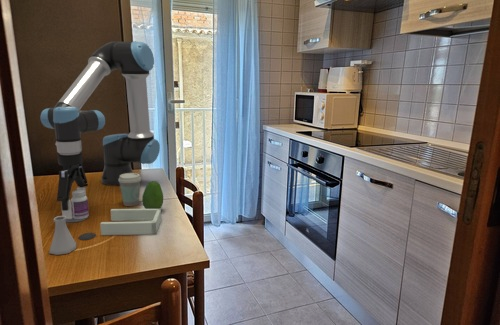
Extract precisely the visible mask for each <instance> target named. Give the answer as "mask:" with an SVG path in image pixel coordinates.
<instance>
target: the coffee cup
mask: <svg viewBox="0 0 500 325" xmlns="http://www.w3.org/2000/svg"><path fill="white" fill-rule="evenodd" d="M140 175H141V174H139V173H137V172H133V173H125V174H121V175H120V177H119V180H118V181H119V183H120V185H119V188H120V191H121V192H120V194H121V198H122V202H123V203H122V204H123V206H125V207H133V206H134V207H135V206H137V205H139V202H140V192H141V191H140V188H141V180H142V177H141V176H140Z"/></svg>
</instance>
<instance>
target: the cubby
mask: <svg viewBox="0 0 500 325" xmlns="http://www.w3.org/2000/svg"><path fill="white" fill-rule="evenodd" d="M110 220H111V221H101V222H100V234H101V235H100V236H124V235H125V236H128V235H139V236H140V235H157V232H158V229H159V228H160V227H159V226H160V224H161V221H162V208H160V209H145V208H111V209H110Z"/></svg>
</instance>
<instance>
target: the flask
mask: <svg viewBox="0 0 500 325" xmlns="http://www.w3.org/2000/svg"><path fill="white" fill-rule="evenodd" d="M65 220H66V216H62V215H58V216H56V217H55V216H54V217H53V222H54V225H55V227H54V233H53V237H52V242H51V244H50V248H49V251H48V254H50V255H56V256H58V255H65V254H70V253H72V252H73V251H75V250H76V249H77V244H78V243H77V242H76V240H75V239H74V238H73V235H72V234H71V232H70V230H69V228H68V226H67V222H66V221H65Z"/></svg>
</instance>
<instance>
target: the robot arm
mask: <svg viewBox="0 0 500 325" xmlns="http://www.w3.org/2000/svg"><path fill="white" fill-rule="evenodd" d="M154 65H155V58H154V54H153V52H152V49H151V48H150V46H149V45H148V44H147V43H145V42H143V41H115V40H114V41H110V42H107V43H105V44H104V45H102V46H100V47H99V48H97V49H96V51H94V52H93V53H92V55H90V57H89V58H88V59H87V65H86V66H85V67H84V68H83V70H82V71H81V72H80V74H79V75H78V76H77V78H76V79H75V80H74V81H73V83H71V85H70V86H69V88H68V89H67V90H66V92H64V94H63V95H62V97H61V98H60V99H59V101H57V103H56V104H55V106H54V107H49V108H45V109H43V110H42V111H41V113H40V122H41V125H43V127H44V128H45V127H46V128H48V129H52V130H53V129H54V134H55V146H56V152H57V153H58V154H57V155H56V156H57V163H58V165H59V166H62V167H63V170H59V171H58V178H59V179H58V186H57V196H56V201H57V202H60V205H61V214H62V215H61V216H66V219H72V208H71V199H70V195H71V193H72V192H71V191H72V187H73V186H72V185H73V183H75V184H76V186H77V187H76V190H84V191H85V196H86V197H87V193H86V192H87V191H86V187H88V186H89V184H88V179H87V176H86V173H85V169H84V166H83V162H84V160H83V159H84V158H83V152H82V151H83V145H82V138H81V137H82V135H81V134H84V133H90V132H97V131H99V130H101V129H103V128H104V126H105V125H106V118H105V115H104V114H103V113H102V112H101V111H99V110H97V109H95V110H94V109H90V110H81V109H82V107H83V106H84V105H85V103H86V102H87V101H88V99H89V98H90V97H91V95H92V94H93V93H94V91H95V90H96V89H97V88H98V86H99V84H100V83H101V82H102V80H103V79H104V78H105V77H107V76H109V75H110V74H111V72H112V71H115V70H120V71H121V75H122V77H124V79H125V83H126V95H127V96H126V97H127V105H128V117H129V130H130V132H129V133H116V134H109V135H105V136H104V137H103V138H102V151H103V152H102V153H103V161H104V162H103V163H104V164H103V165H104V168H103V171H102V175H101V177H100V178H101V184H103V185H106V186H120V183H119V181H118V180H119V177H120V175H121V174H125V173H134V171H133V169H132V166H131V163H137V164H143V165H144V164H148V165H150V164H153V163H154V162H156V160H158V157H159V154H160V151H161V150H160V149H161V146H160V145H161V144H160V142H159V141H158V140H157V139H156V138H155V135H154V133H153V132H152V131H151V125H150V115H149V114H150V113H149V100H148V98H149V97H148V85H147V79H148V77H149V75H150V71H151V70H153V68H154Z"/></svg>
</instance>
